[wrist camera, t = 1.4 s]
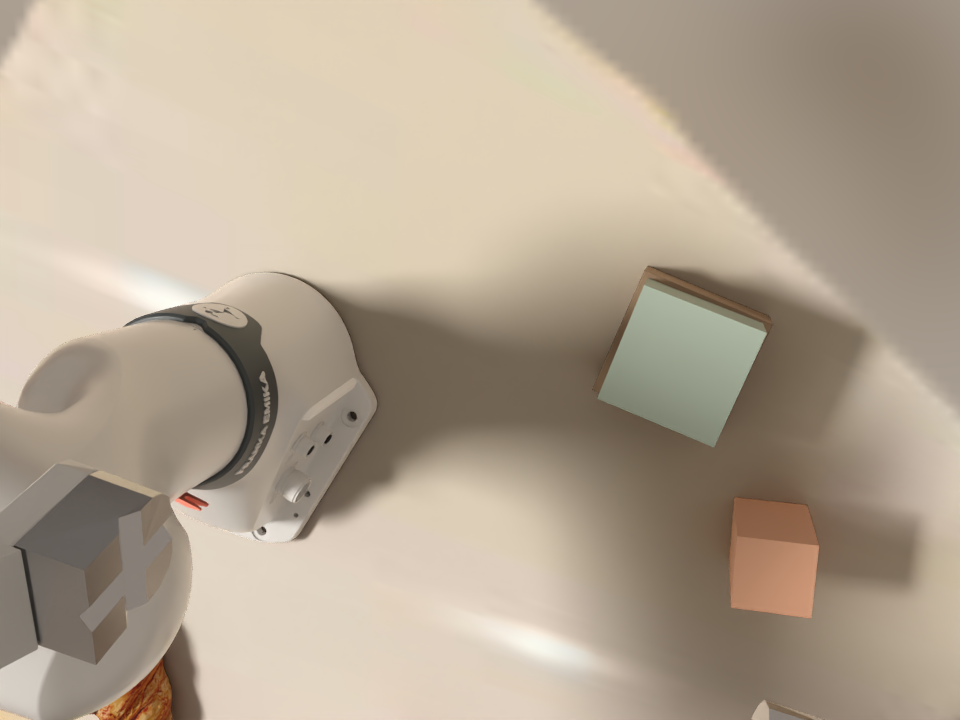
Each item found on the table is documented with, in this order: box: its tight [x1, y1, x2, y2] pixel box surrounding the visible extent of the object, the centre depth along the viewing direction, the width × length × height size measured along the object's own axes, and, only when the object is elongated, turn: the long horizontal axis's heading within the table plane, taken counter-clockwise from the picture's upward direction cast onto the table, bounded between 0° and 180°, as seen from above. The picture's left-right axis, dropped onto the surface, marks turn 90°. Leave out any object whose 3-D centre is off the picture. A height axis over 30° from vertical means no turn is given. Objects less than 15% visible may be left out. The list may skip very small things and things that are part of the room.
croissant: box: [90, 658, 173, 720], centre depth 79 cm, size 21×10×8 cm, turn 38°
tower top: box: [597, 278, 767, 448], centre depth 58 cm, size 8×8×4 cm
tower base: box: [592, 266, 772, 393], centre depth 62 cm, size 9×9×4 cm
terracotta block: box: [729, 497, 819, 618], centre depth 61 cm, size 5×5×8 cm
